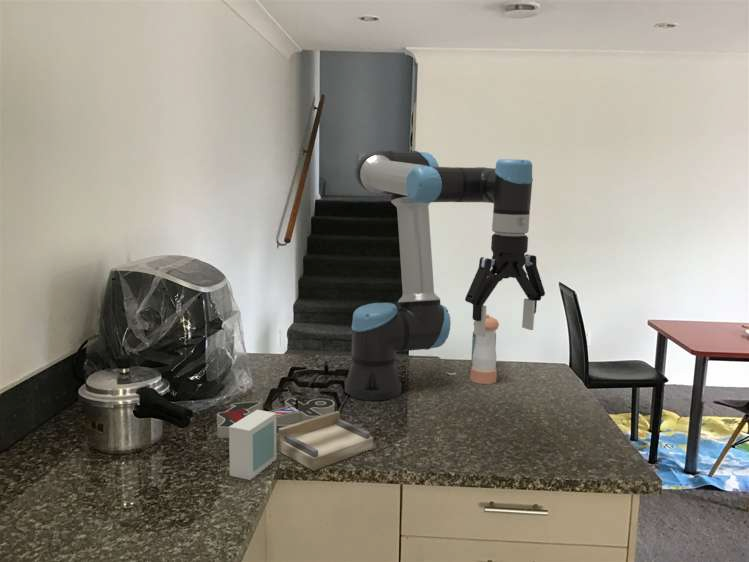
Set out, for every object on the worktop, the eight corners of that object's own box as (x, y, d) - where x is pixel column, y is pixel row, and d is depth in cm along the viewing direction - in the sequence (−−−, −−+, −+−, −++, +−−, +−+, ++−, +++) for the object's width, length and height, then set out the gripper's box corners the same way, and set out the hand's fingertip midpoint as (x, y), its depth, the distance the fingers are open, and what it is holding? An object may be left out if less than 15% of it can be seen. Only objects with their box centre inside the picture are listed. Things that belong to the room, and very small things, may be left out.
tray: (278, 451, 140) (278, 428, 139) (336, 431, 151) (337, 410, 150) (313, 470, 131) (313, 446, 130) (373, 448, 142) (373, 426, 141)
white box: (229, 475, 128) (229, 426, 127) (257, 455, 138) (257, 409, 136) (250, 480, 127) (249, 430, 125) (276, 459, 136) (276, 413, 134)
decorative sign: (198, 411, 155) (309, 388, 172) (198, 422, 155) (309, 398, 173) (239, 443, 137) (358, 414, 155) (239, 456, 138) (358, 426, 155)
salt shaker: (470, 375, 194) (473, 311, 191) (495, 377, 193) (499, 312, 190) (470, 383, 187) (473, 316, 183) (496, 385, 186) (500, 318, 182)
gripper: (474, 237, 130) (469, 342, 134) (566, 233, 143) (558, 329, 146) (451, 233, 137) (446, 334, 140) (541, 230, 149) (534, 322, 153)
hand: (503, 332), depth 143 cm, fingers open, 13 cm apart
